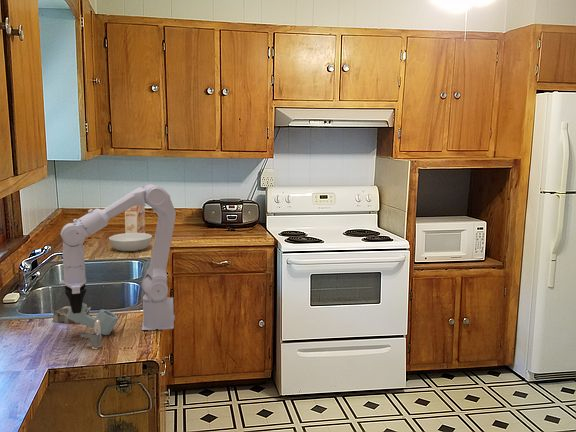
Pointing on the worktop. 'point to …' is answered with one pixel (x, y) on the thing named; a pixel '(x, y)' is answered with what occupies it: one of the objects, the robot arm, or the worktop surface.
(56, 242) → the worktop surface
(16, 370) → the worktop surface
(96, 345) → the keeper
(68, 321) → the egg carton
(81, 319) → the link
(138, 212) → the coffeecake box
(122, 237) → the serving bowl
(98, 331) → the pintle
